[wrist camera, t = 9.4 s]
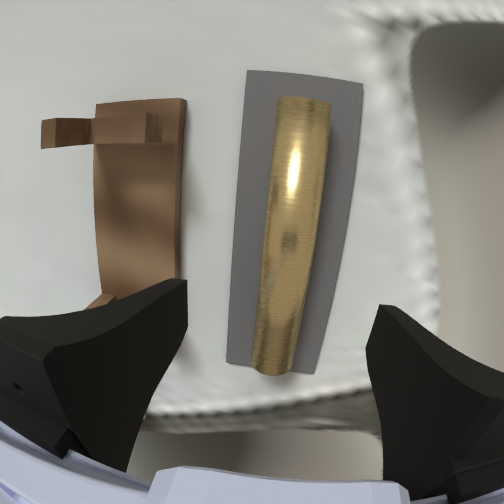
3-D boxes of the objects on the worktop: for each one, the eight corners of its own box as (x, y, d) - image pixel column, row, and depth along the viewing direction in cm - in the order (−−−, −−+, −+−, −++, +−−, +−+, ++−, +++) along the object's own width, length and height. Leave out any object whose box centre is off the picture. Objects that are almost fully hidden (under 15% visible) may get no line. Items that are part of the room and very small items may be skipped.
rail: (291, 350, 22) (292, 377, 19) (252, 346, 22) (248, 372, 20) (327, 108, 16) (336, 102, 14) (277, 102, 17) (276, 94, 14)
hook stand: (181, 331, 23) (150, 386, 17) (112, 316, 24) (71, 360, 18) (186, 100, 17) (138, 83, 11) (103, 105, 18) (42, 99, 12)
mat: (313, 370, 23) (313, 373, 23) (227, 359, 24) (226, 362, 23) (361, 85, 16) (363, 83, 15) (248, 71, 16) (247, 70, 16)
